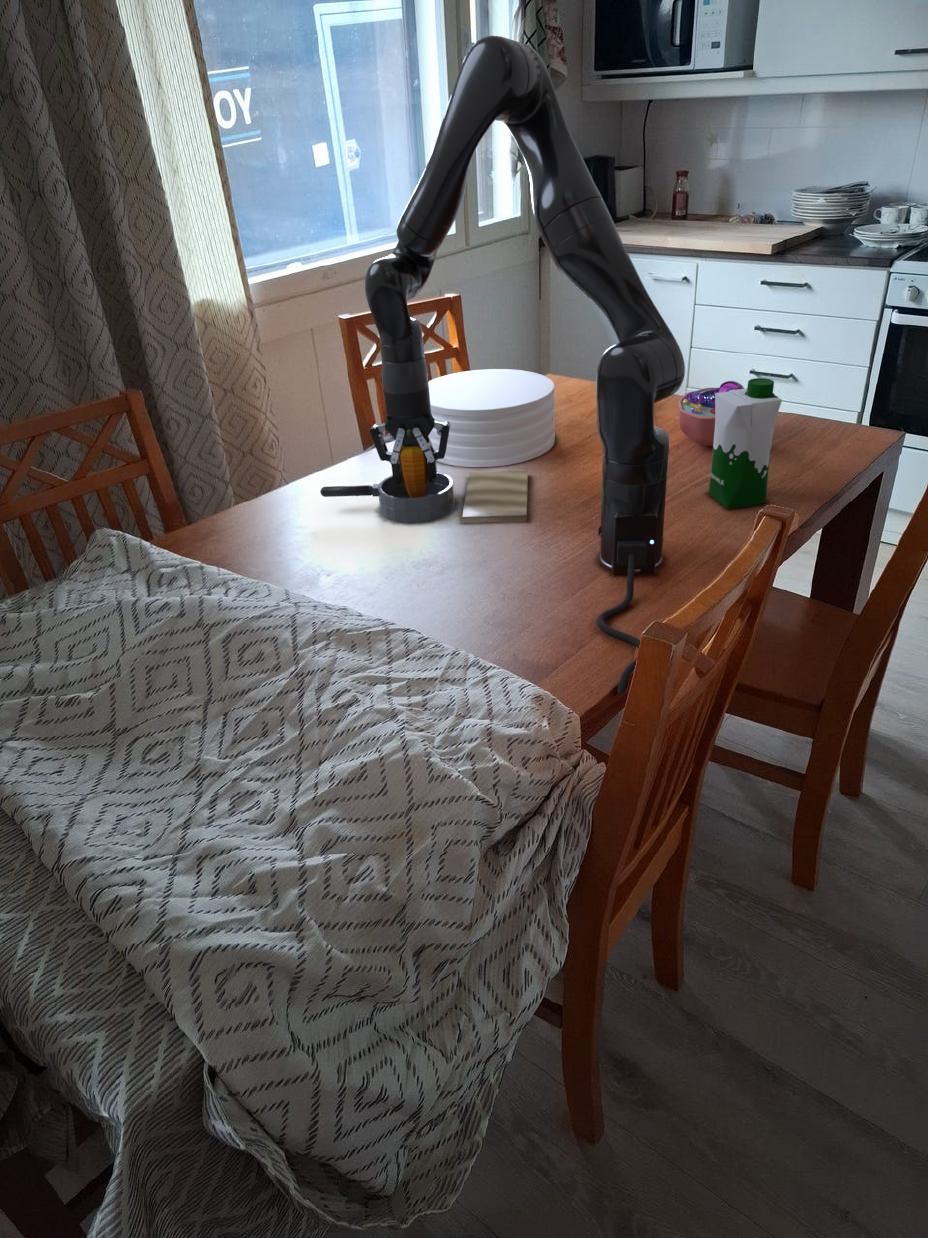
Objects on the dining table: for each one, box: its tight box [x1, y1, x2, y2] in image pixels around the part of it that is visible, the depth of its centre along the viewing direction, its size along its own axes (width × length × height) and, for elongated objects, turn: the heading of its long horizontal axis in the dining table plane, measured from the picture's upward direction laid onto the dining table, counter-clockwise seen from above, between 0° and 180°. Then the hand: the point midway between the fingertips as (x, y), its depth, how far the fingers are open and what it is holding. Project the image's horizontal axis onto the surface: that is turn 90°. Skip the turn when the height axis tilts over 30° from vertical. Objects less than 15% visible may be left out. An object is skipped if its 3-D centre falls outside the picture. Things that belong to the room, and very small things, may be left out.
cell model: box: [677, 380, 745, 447], centre depth 168 cm, size 17×20×11 cm
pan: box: [378, 471, 456, 525], centre depth 152 cm, size 13×13×4 cm
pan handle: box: [320, 483, 379, 498], centre depth 152 cm, size 11×2×2 cm, turn 86°
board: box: [461, 470, 529, 524], centre depth 154 cm, size 20×11×1 cm, turn 176°
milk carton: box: [708, 377, 783, 510], centre depth 143 cm, size 9×9×20 cm
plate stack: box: [428, 368, 556, 468], centre depth 177 cm, size 28×28×12 cm
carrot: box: [399, 429, 428, 498], centre depth 149 cm, size 5×5×15 cm
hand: (415, 480), depth 150 cm, fingers closed on carrot, 5 cm apart
